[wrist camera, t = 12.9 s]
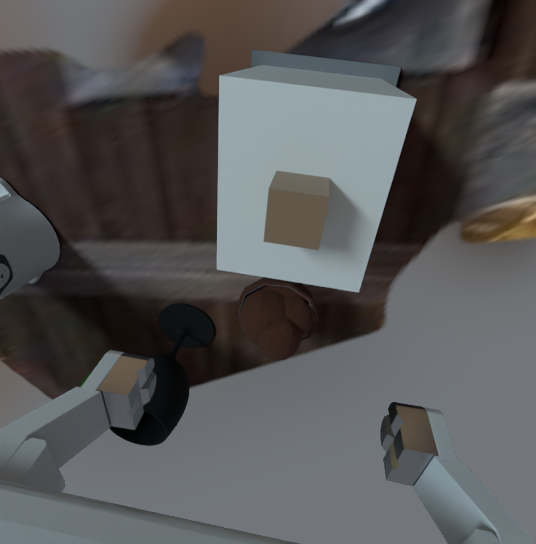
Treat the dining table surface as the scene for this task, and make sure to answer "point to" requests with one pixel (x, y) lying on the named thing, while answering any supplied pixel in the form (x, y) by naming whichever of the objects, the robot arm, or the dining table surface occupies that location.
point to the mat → (326, 65)
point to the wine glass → (170, 375)
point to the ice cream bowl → (276, 316)
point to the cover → (305, 172)
